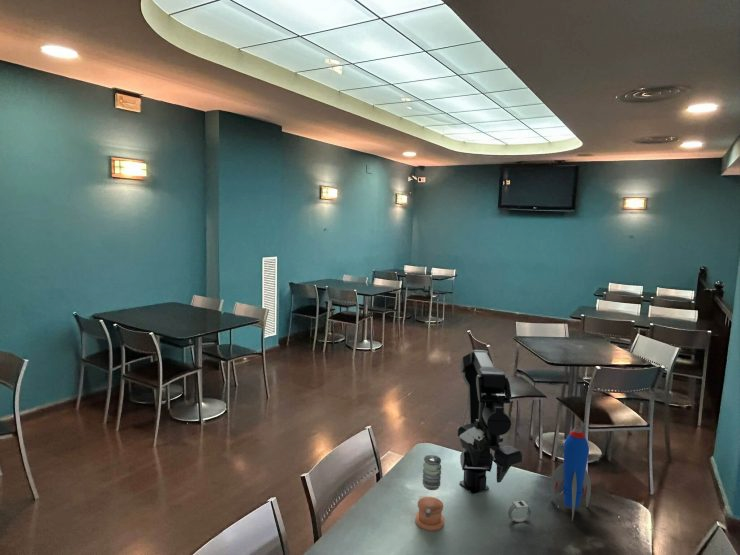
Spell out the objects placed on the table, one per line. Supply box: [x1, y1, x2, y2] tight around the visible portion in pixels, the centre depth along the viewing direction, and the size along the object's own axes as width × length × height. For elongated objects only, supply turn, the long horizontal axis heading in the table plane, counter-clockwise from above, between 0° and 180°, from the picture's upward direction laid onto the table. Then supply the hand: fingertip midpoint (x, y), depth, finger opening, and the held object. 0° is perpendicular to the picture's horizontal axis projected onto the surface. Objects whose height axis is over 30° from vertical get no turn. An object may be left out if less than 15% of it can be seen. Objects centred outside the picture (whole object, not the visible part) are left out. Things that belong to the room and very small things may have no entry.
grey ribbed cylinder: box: [422, 454, 442, 491], centre depth 120 cm, size 5×5×8 cm
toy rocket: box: [549, 424, 592, 522], centre depth 125 cm, size 11×10×25 cm
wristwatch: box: [507, 500, 532, 523], centre depth 122 cm, size 6×3×5 cm, turn 101°
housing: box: [415, 496, 445, 532], centre depth 121 cm, size 8×8×5 cm
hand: (486, 473), depth 121 cm, fingers open, 9 cm apart
